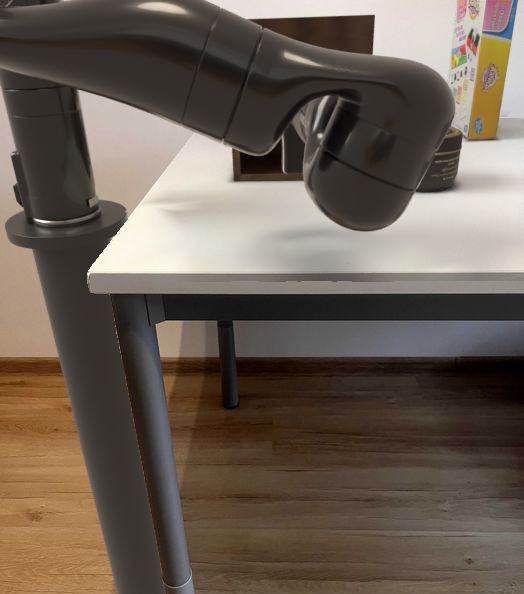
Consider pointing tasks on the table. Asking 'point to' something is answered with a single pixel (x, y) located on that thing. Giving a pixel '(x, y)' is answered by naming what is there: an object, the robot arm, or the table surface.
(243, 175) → the shelf
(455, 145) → the jar
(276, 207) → the table surface
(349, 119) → the robot arm
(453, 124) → the game box
